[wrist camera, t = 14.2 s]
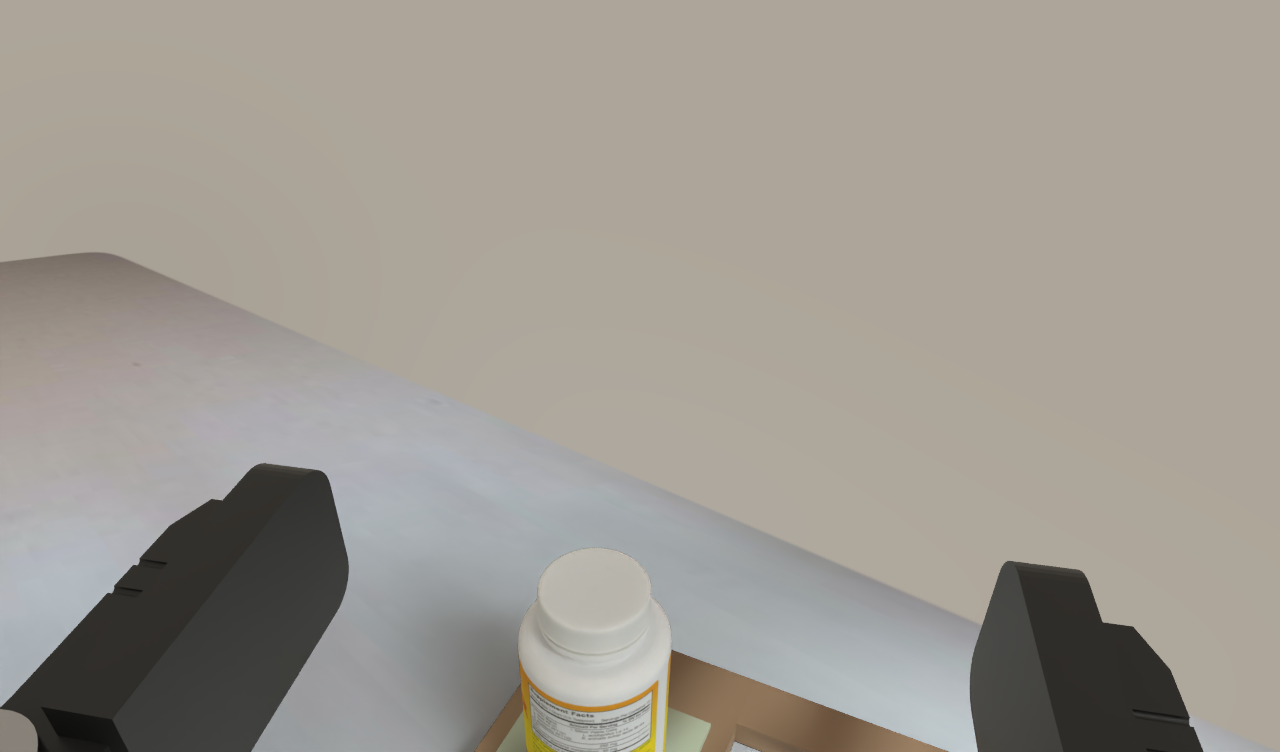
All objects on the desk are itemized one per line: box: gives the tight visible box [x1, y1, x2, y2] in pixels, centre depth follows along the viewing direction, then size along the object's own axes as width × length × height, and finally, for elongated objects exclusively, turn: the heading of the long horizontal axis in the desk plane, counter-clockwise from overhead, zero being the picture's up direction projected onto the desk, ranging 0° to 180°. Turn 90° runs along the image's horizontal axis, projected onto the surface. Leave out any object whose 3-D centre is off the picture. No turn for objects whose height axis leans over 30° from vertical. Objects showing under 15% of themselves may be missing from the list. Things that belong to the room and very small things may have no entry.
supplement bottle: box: [518, 548, 672, 752], centre depth 33 cm, size 6×6×10 cm
